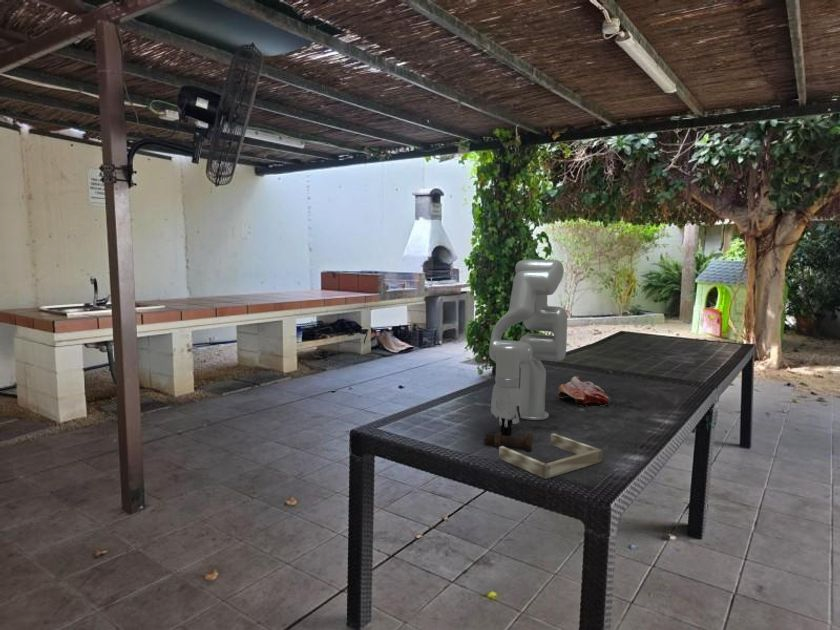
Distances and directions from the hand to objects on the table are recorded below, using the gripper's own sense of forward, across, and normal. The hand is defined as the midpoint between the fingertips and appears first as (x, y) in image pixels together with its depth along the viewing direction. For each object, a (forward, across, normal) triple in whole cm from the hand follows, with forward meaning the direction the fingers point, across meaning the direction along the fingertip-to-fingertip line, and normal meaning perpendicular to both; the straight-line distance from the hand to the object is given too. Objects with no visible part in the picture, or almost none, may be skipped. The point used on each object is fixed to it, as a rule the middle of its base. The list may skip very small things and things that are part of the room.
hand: (505, 437), depth 175 cm
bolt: (+2, +4, -2) cm, 5 cm away
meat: (+2, -21, +66) cm, 69 cm away
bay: (+2, +18, 0) cm, 18 cm away
